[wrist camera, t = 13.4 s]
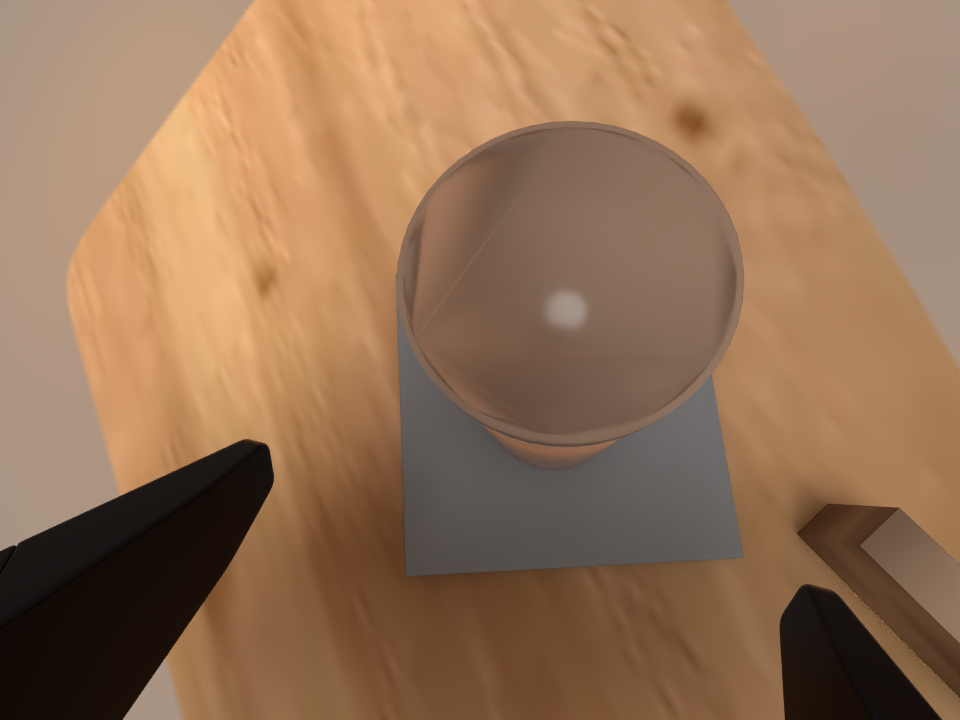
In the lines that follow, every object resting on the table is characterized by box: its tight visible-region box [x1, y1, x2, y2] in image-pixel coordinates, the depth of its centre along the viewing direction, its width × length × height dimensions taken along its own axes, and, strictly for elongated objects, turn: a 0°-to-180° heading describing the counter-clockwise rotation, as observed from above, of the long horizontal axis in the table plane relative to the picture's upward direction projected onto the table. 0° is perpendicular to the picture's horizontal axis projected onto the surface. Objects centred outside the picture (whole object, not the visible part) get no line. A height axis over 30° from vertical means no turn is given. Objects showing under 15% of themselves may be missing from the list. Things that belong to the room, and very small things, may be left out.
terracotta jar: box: [396, 121, 744, 470], centre depth 14 cm, size 5×5×13 cm
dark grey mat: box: [396, 274, 743, 576], centre depth 21 cm, size 12×12×1 cm
